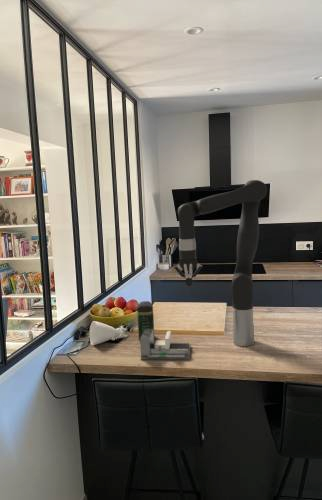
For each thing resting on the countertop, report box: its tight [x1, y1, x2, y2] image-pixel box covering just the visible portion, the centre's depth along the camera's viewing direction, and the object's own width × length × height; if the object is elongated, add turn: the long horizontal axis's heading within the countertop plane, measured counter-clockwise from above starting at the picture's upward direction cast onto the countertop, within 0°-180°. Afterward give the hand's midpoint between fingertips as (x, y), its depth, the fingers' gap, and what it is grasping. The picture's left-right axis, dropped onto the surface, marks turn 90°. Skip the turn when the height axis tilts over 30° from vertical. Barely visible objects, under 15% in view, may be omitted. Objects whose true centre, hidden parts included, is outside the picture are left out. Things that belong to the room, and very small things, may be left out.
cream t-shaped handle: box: [154, 330, 172, 351], centre depth 167 cm, size 7×11×7 cm, turn 172°
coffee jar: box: [136, 301, 155, 341], centre depth 185 cm, size 10×8×19 cm
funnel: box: [89, 320, 128, 346], centre depth 188 cm, size 12×12×18 cm
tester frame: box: [139, 329, 192, 361], centre depth 168 cm, size 21×14×9 cm, turn 82°
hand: (189, 285), depth 170 cm, fingers closed
